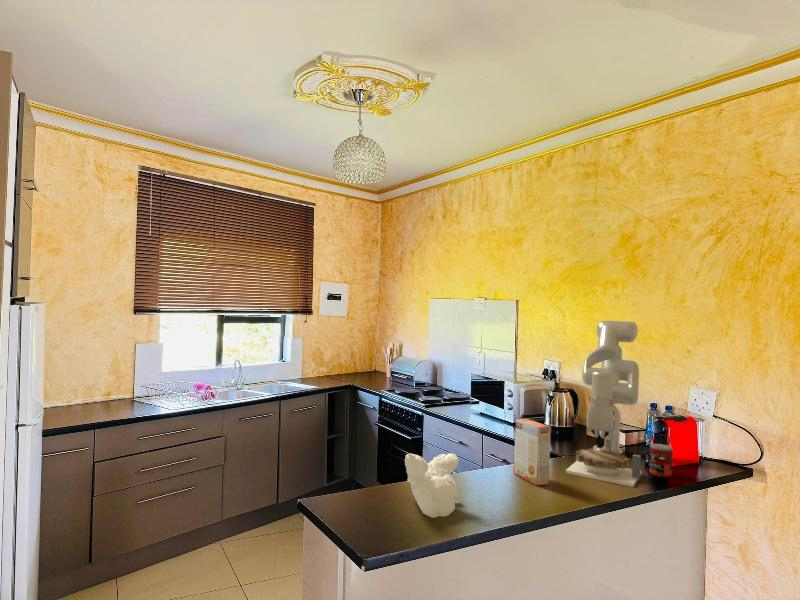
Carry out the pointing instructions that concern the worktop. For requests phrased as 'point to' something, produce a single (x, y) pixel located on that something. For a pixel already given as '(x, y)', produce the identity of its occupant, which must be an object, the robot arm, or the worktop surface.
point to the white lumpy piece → (433, 483)
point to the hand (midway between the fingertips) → (600, 447)
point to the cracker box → (532, 451)
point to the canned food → (661, 460)
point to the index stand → (609, 472)
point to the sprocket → (602, 458)
